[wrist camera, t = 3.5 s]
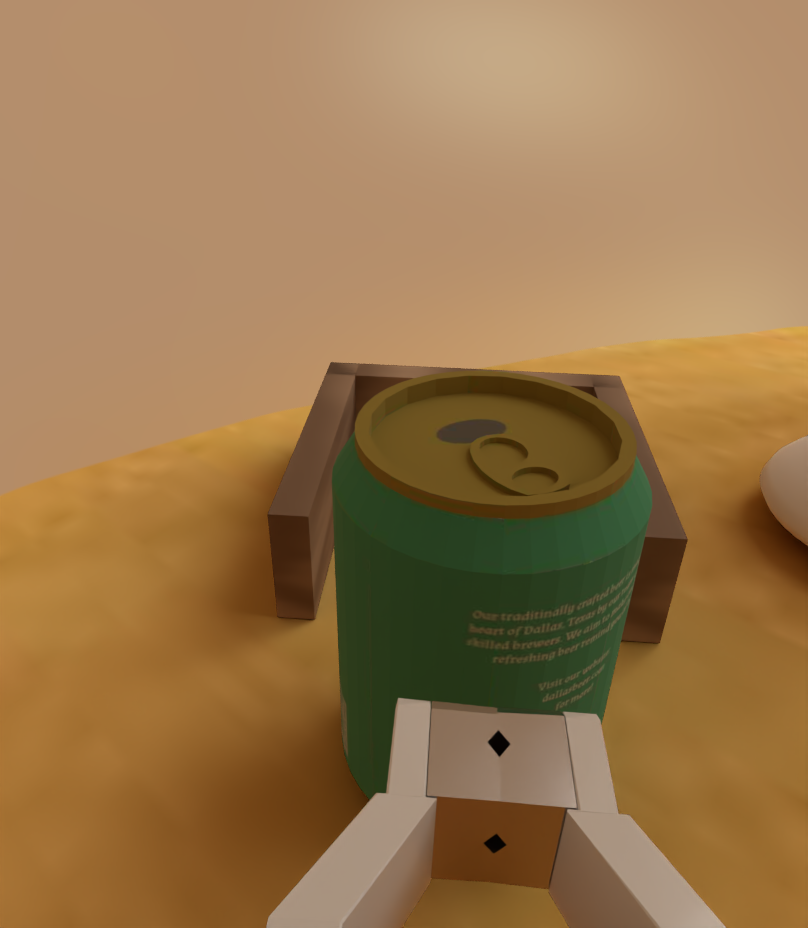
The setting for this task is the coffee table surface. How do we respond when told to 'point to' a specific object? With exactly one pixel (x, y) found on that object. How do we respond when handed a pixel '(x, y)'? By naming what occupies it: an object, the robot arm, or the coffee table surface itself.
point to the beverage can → (481, 551)
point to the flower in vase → (788, 487)
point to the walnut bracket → (333, 422)
